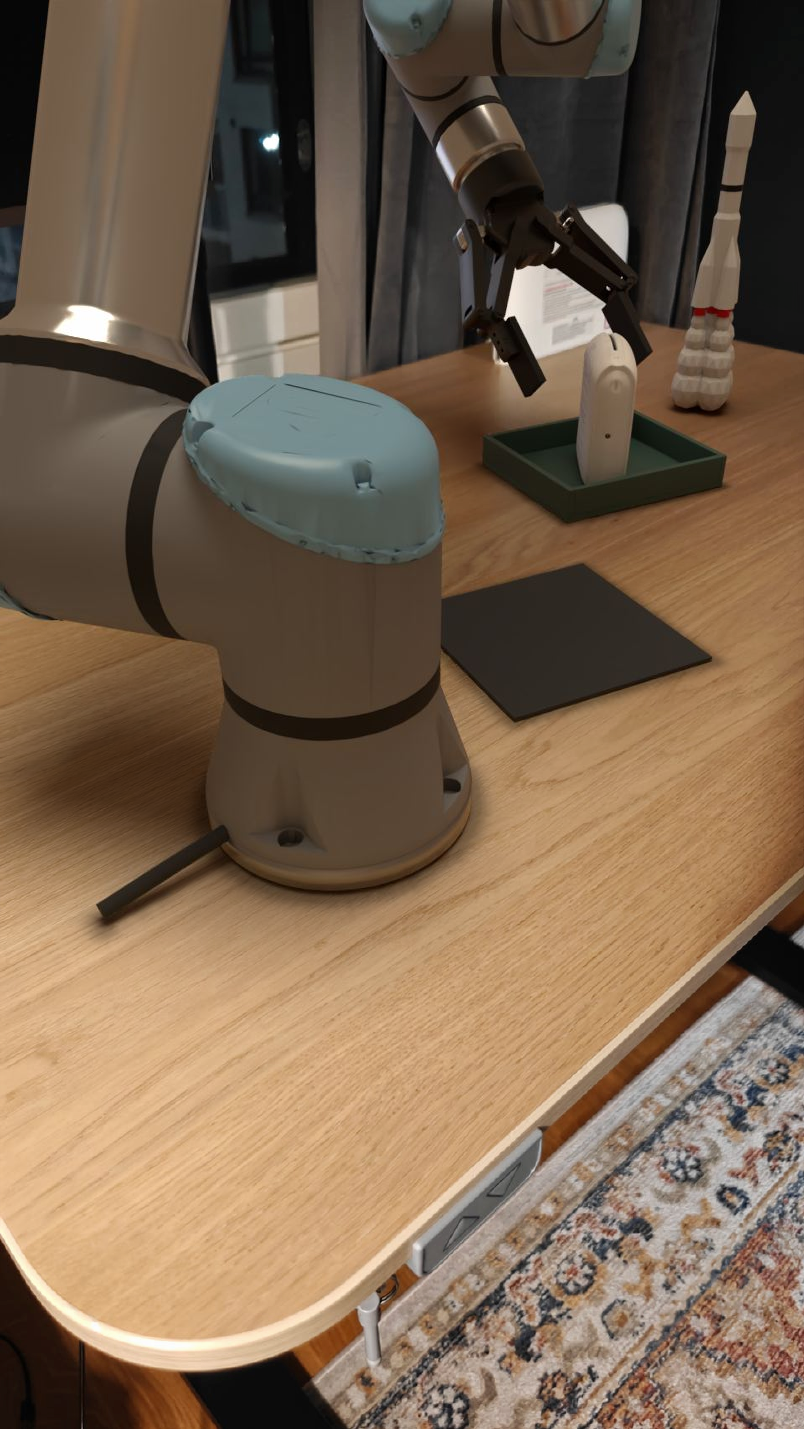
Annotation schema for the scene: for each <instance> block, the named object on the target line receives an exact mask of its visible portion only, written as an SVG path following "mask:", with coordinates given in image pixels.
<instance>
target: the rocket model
mask: <svg viewBox="0 0 804 1429" xmlns="http://www.w3.org/2000/svg"><path fill="white" fill-rule="evenodd" d="M756 120H757V112H756V108H755V106H754V103H753V101H752V98H751V95H750V93H749V91H748V90H745V91H744V93H743V94H742V96H741V97H740V98H739V100H738V102H737V103H736V105H735V106H734V108H733V109H732V110H731V112H730V114H729V120H728V125H727V126H728V127H727V133H726V140H725V150H726V154H725V159H724V166H723V171H722V180H721V185H720V193H719V200H718V205H717V212H716V214H715V215H714V217H713V223H712V229H711V236H710V243H709V245H708V247H707V249H706V251H705V253H704V255H703V257H702V260H701V262H700V264H699V268H698V271H697V277H696V282H695V285H694V290H693V294H692V298H691V302H690V307H693V308H694V310H693V313H692V315H693V316H692V317H691V320H690V326H689V328H688V329H687V331H686V333H685V336H684V345H683V348H682V349H681V351H680V352H679V355H678V358H677V361H676V364H677V365H676V366H677V371H676V372H675V373H674V376H673V379H672V382H671V384H670V389H671V390H670V391H671V397H672V398H671V399H673V401H674V403H675V405H676V406H677V407H680V408H682V409H689V408H695V407H696V406H697V407H700V409H701V410H704V411H707V412H713V411H715V410H718V409H720V408H721V407H722V406H723V405H724V404H725V403H726V401H727V400H728V398H729V395H730V393H731V390H732V388H733V385H734V373H733V370H732V367H733V366H734V362H735V359H736V355H735V348H734V346H733V340H734V337H735V327H734V326H733V324H732V323H733V320H734V311H733V310H734V309H735V305H736V304H737V303H738V299H739V288H740V287H739V286H740V272H741V256H740V251H739V244H738V236H739V231H740V224H741V218H742V217H741V214H740V207H741V201H742V194H743V190H744V184H745V183H744V182H745V176H746V169H747V163H748V158H749V151H750V149H751V147H752V144H753V138H754V132H755V124H756Z"/></svg>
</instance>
